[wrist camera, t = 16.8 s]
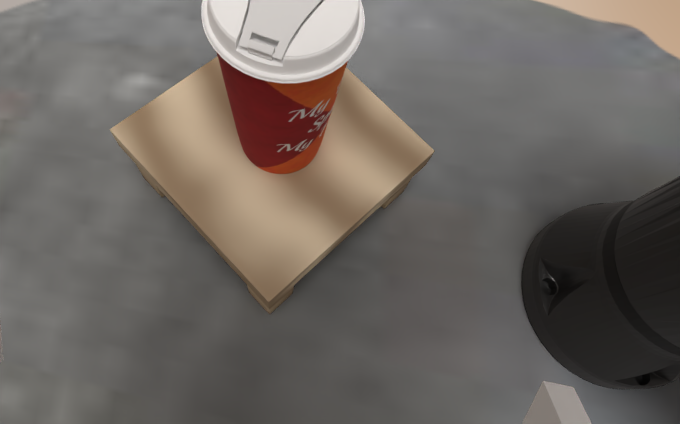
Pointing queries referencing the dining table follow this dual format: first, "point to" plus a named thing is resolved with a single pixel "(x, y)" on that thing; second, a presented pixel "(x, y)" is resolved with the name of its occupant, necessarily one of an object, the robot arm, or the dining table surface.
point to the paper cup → (282, 71)
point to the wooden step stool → (270, 177)
